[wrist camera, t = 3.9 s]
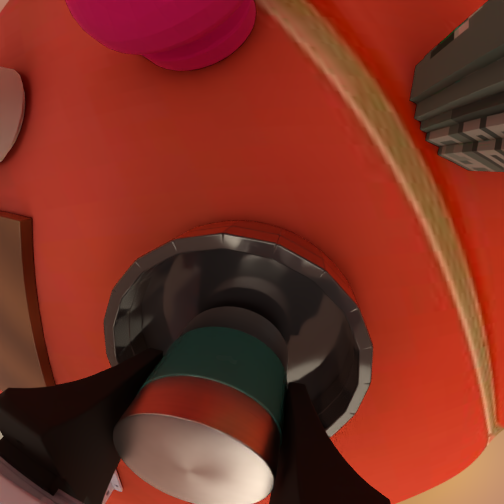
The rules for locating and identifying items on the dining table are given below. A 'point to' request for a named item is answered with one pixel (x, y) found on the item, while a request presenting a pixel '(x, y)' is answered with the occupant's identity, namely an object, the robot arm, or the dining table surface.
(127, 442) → the tin can
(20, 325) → the board
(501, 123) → the can
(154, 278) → the pan
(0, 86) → the can
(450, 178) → the dining table surface
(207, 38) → the pepper mill
